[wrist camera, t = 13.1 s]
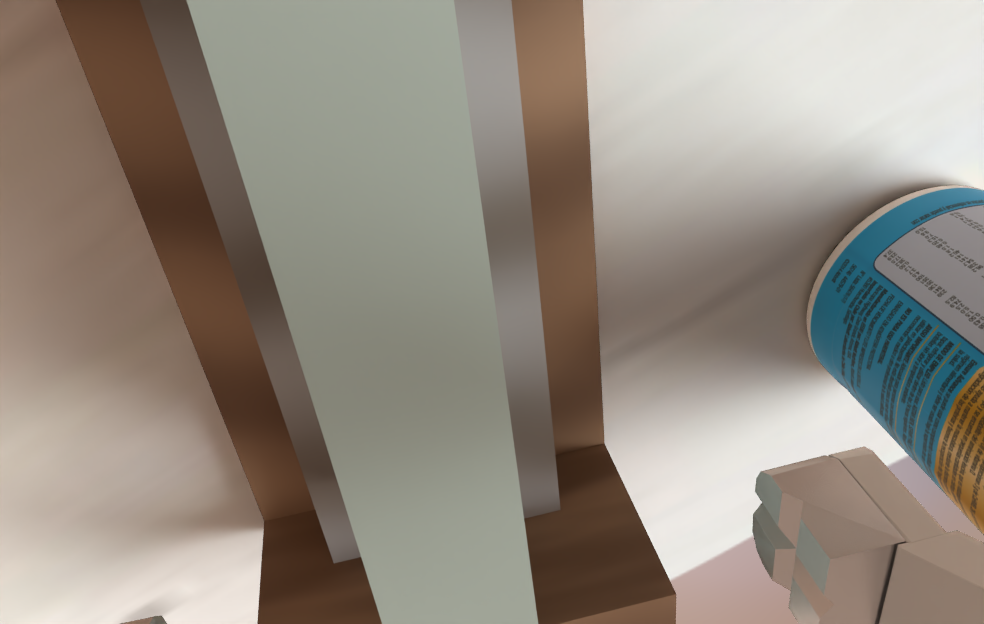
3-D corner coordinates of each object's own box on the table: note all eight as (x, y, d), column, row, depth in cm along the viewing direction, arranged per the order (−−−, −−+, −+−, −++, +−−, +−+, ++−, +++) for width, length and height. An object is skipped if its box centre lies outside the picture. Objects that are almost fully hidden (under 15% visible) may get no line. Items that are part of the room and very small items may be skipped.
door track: (-85, -419, 15) (-420, -628, 8) (537, -482, 16) (705, -707, 9) (281, 528, 29) (272, 740, 22) (593, 456, 30) (675, 636, 23)
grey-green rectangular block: (231, -145, 16) (150, -117, 8) (371, -165, 17) (432, -158, 8) (378, 424, 25) (412, 720, 17) (469, 404, 25) (546, 685, 17)
